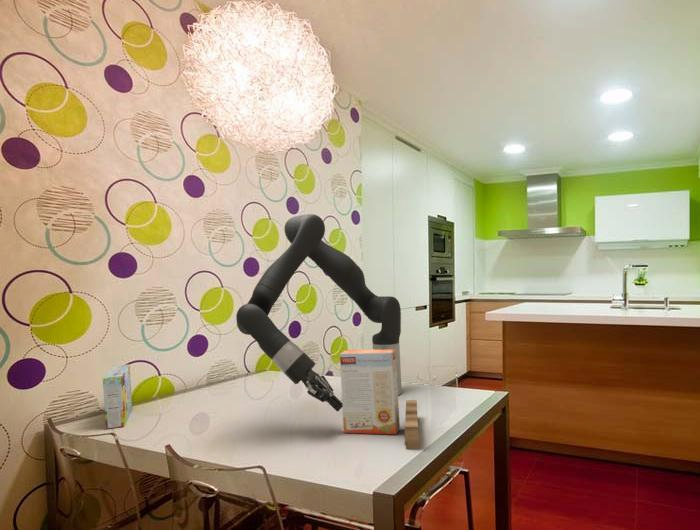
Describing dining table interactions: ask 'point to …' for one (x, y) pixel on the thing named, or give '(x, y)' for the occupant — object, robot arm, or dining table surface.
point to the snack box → (117, 396)
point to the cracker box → (369, 391)
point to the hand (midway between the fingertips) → (340, 408)
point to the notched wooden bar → (411, 425)
